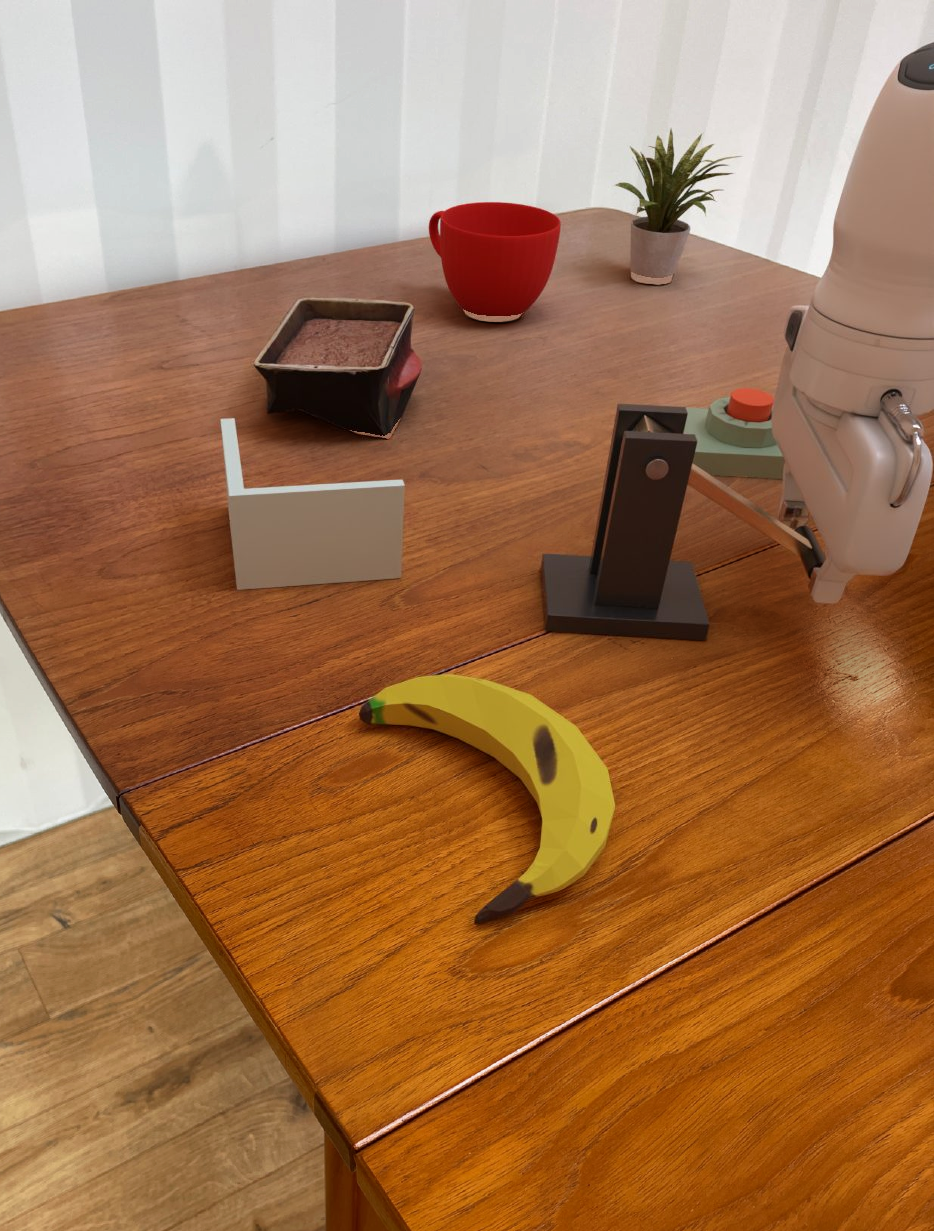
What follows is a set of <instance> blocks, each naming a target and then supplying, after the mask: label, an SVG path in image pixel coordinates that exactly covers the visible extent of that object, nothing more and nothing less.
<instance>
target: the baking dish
mask: <svg viewBox="0 0 934 1231" xmlns="http://www.w3.org/2000/svg"><path fill="white" fill-rule="evenodd" d="M414 316H415V306H414V305H413V304H411V303H410V302H407V301H391V300H382V299H369V298H368V299H366V298H351V297H350V298H348V297H313V296H311V297H310V296H309V297H303V298H298V299H296V300H295V301H294V302H293V305H292V306H291V307H290V308H289V309H288V311H287V312H286V314H285V315H284V317H282V320H281V321H280V322H279V325H278V326H277V328H276V329H275V330H274V331H275V332H274V333H273V335H272V336H271V337H270V338H269V339H268V342H267V343H266V344H265V345H264V347H263V349H262V350H261V351H260V353H258V355H257V356H256V358H255V360H254V362H253V366H254V368H255V369H256V371H257V372H258V373H259V374H260V375H261V376H262V377H263V378H264V380H265V389H266V414H268V415H273V414H278V413H284V412H291V411H295V410H299V411H301V412H304V413H306V414H308V415H311V416H313V417H316V418H317V419H320V420H323V421H325V422H328V423H330V424H332V423H333V424H332V425H334V424H335V426H337V427H339V426H340V428H341V427H343V428H342V429H344V428H345V429H344V430H346V429H347V430H346V431H348V430H352V431H357V432H365V433H370V434H375V435H380V436H382V435H383V436H385V435H387V434H388V433H391V431H392V429H393V427H394V426H395V424H396V423H397V422H398V420H399V419H400V418H401V417H402V418H403V416H404V414H405V411H406V409H407V407H408V404H409V401H410V399H411V396H412V394H413V392H414V390H415V387H416V386H417V382H418V380H419V378H420V375H421V372H422V369H423V368H422V366H423V364H422V361H421V358H420V357H419V355H417V353H416V352H415V351H414V349H413V348H412V334H413V325H414ZM402 418H401V419H402Z"/></svg>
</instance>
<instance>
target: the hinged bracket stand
mask: <svg viewBox="0 0 934 1231" xmlns="http://www.w3.org/2000/svg"><path fill="white" fill-rule="evenodd" d="M644 415H645V416H647V417H648V418H650V419H651V420H653V421H654V422H656V423H657V424H659V425H660V426H662V427H663V428H665V429H666V430H668V431H669V432H671V433H657V432H638V431H632V430H633V429H634V427H635V426H636V425H637V424H638V423H639V421H640V420H641V419H642V418H643V417H644ZM687 415H688V413H687V410H686V406H671V405H653V404H652V405H651V404H634V403H633V404H632V403H617V406H616V412H615V416H614V423H613V428H612V433H611V439H610V446H609V451H608V457H607V461H606V462H607V463H606V468H605V472H604V473H605V474H604V479H603V485H602V491H601V497H600V502H599V508H598V514H597V519H596V525H595V531H594V535H593V541H592V546H591V553H590V555H578V554H577V555H576V554H559V553H542V555H541V561H540V570H539V571H540V580H541V592H542V605H543V616H544V618H543V619H544V629H545V632H550V633H551V632H554V633H567V634H569V633H570V634H584V635H585V634H588V635H602V636H603V635H606V636H620V637H637V638H638V637H640V638H653V639H672V640H688V641H706V640H707V637H708V633H709V630H710V626H711V623H710V619H709V616H708V613H707V609H706V606H705V602H704V599H703V595H702V591H701V589H700V585H699V581H698V578H697V575H696V570H695V567H694V563H693V562H692V561H684V560H683V561H682V560H671V557H672V553H673V549H674V548H673V547H674V544H675V541H676V540H675V539H676V535H677V532H678V527H679V523H680V518H681V514H682V511H683V506H684V501H685V497H686V493H687V488H688V486H689V485H688V480H689V476H690V472H691V468H692V463H693V459H694V455H695V450H696V446H697V439H696V436H695V434H683V433H684V429H685V424H686V420H687ZM621 443H622V446H621Z"/></svg>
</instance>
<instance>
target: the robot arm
mask: <svg viewBox="0 0 934 1231" xmlns="http://www.w3.org/2000/svg"><path fill="white" fill-rule="evenodd" d="M895 65H896V66H895V67H894V68H893V70H892V71H891V73H890V74H889V76H888V77H887V78H886V81H885V82H884V84H883V86H882V88H881V89H880V91H879V93H878V95H877V97H876V99H875V101H874V103H873V106H872V108H871V110H870V112H869V115H868V116H867V119H866V122H865V123H864V127H863V129H862V131H861V134H860V136H859V140H858V142H857V145H856V148H855V150H854V153H853V156H852V159H851V161H850V165H849V167H848V171H847V174H846V176H845V177H846V178H845V181H844V184H843V187H842V191H841V194H840V196H839V201H838V205H837V207H836V211H835V215H834V219H833V226H832V227H833V228H832V230H833V231H832V247H831V254H830V257H829V261H828V264H827V265H826V269H825V271H824V272H823V274H822V276H821V277H820V279H819V281H818V282H817V284H816V286H815V287H814V290H813V292H812V295H811V298H810V302H809V305H808V304H806V305H801V304H799V305H792V306H791V307H790V309H789V311H788V314H787V317H786V320H785V324H784V328H783V338H784V341H785V342H786V344H787V346H786V348H785V352H784V354H783V358H782V362H781V366H780V371H779V375H778V379H777V383H776V387H775V388H776V389H775V393H774V397H773V398H774V402H773V408H772V435H773V437H774V438H775V440H776V443H777V445H778V447H779V449H780V451H781V453H782V455H783V457H784V459H785V464H784V467H783V479H782V484H781V485H782V486H781V499H780V502H779V505H778V509H777V512H776V516H777V520H779V521H780V522H782V523H783V524H785V525H786V526H788V527H789V528H791V529H792V530H795V529H796V528H797V527H799V526H807V524H808V520H809V517H810V516H811V518H812V521H813V522H814V525H815V527H816V529H817V531H818V533H819V536H820V538H821V540H822V542H823V544H824V546H825V549H824V551H823V554H824V556H825V558H826V560H825V562H824V563H823V565H822V566H821V568H814V569H813V572H812V574H811V579H809V581H808V584H807V588H808V592H809V594H810V596H811V599H812V601H813V602H815V603H816V604H828V605H829V604H830V605H833V604H836V603H839V602H840V600H841V599H842V597H843V594H844V591H845V589H846V586H847V583H849V582H850V581H851V580H852V579H853V578H854V577H855V576H856V575H860V576H861V575H862V576H880V577H881V576H882V577H885V576H891V575H893V574H895V573H896V572H897V571H899V570H900V569H901V568H902V567H903V566H904V564H905V563H906V561H907V558H908V556H909V554H910V551H911V547H912V546H913V542H914V540H915V536H916V533H917V530H918V527H919V524H920V521H921V518H922V515H923V512H924V509H925V508H924V507H925V506H926V502H927V498H928V496H929V491H930V487H931V482H932V478H933V469H934V468H933V467H934V464H933V456H932V453H931V451H930V448H929V447H928V445H927V444H926V442H925V441H924V439H923V438H924V435H925V428H924V426H923V423H922V422H921V420H920V419H919V418H918V416H921V415H925V414H928V413H930V412H932V411H933V410H934V41H933V42H930V43H927V44H925V45H922V46H921V47H918V48H917V49H916V50H914V51H911V52H910V53H908V54H906V55H905V56H904V57H903V58H902V59H900V60H899V62H898V63H897V64H895Z"/></svg>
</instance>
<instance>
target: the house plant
mask: <svg viewBox="0 0 934 1231" xmlns="http://www.w3.org/2000/svg"><path fill="white" fill-rule="evenodd" d="M703 134H704V132H702V133H701V134H700V135H698V137H697V138H696V139H695V140H694V141H693V142H692V144H691V145H690V146H689V148H688V149H687V150H686V151H685V153H684V154H683V155H682V156H681V157H680V159H679V161H678V162H677V164H676V166H675V168H674V163H675V148H674V133H673V130H672V128H670V129H669V135H668V142H667V148H666V149H667V150H666V149H665V146H664V142H663V139H662V138H661V137H660V136H659V135H657V136H656V139H655V145H654V146H651V145H648V148H653V149H654V158H652V157H645V155H644V154H643V153H642V151H639V152H638V151H637V150H636V149H634V148H633V147H632V146H630V145H628V147H629V148H630V150H631V152H632V153H633V155H634V156H635V158H636V160H635V159H634V157H633V156H631V158H632V159H633V161H634V162H635V164H636V166H637V168H638V170H639V172H640V173H641V176H642V178H643V181H644V183H645V186H646V187H645V192H646V195H647V198H648V199H646V198H645V196H644V195H643V194H642V193H641V191H640V190H639V189H638V188H637V187H635V186H634V185H633V184H631V183H629V182H624V181H623V182H618V183H615V184H614V185H613V187H614V186H616V187H619V188H622V189H625V191H628V192H630V193H632V194H633V195H635V196H636V197H637V198H638V199H639V206H638V207H637V209H636V214H635V216H637V215H638V214H639V213H641V212H644V211H645V213H646V216H640V217H636V218H634V219H632V220H631V221H630V264H629V265H630V266H629V267H630V268H629V269H631V272H633V273H635V274H637V275H641V276H645V277H651V278H664V277H668V276H671V275H673V274H674V273H675V274H676V270H677V268H678V265H679V264H680V260H681V257H682V254H683V251H684V249H685V245H686V243H687V240H688V237H689V235H690V231H691V225H690V224H689V223H688V222H685V221H684V220H680V219H679V218H680V217H681V216H682V215H684V214H685V213H686V212H687V211H688V210H689V209H690V208H691V207H693V206H696V207H698V209H701V210H702V212H703V213H704V215H705V216H704V217H707V210H706V208H707V207H706V206H705V205H704V204H703V203H702V202H705V201H706V202H707V201H713V202H716V203H718V201H716V200H715V197H714V196H713V194H712V193H714V192H718V191H719V192H720V191H721V192H722V191H723V189H720V188H716V189H711V190H708V191H705V190H703V189H699V188H697V189H692V188H693V187H694V186H695V185H696V184H697V183H699V182H701V181H705V180H708V179H711V178H714V177H720V176H721V177H722V176H729V175H734V174H735V173H734V172H711V171H712V170H714V169H716V168H719V167H727V166H729V167H730V166H731V165H730V164H724V163H721V164H717V163H719V162H722V161H725V160H729V159H736V158H741V157H743V155H737V156H736V155H735V156H727V157H722V158H718V159H716V160H711V159H704V160H703V158H704V157H705V154H706V153H707V152H708V151H709V150H710V149H711V148H712V147H713V146H714V145H715V143H712V144H709V145H706V146H704V147H702V148H701V149H700V150H698V151H697V152H696V153H695V150H696V148H697V147H698V145H699V143H700V142H701V141H702V140H701V139H702V136H703ZM694 153H695V154H694ZM705 162H707V163H708V164H706V165H704V166H703V167H701V168H700V169H699V170H697V171H696V172H695V173H693V172H694V171H695V170H696V169H697V168H698V166H699V165H700V164H701V163H705ZM709 172H710V173H709ZM700 173H701V174H700ZM691 175H692V176H691ZM690 176H691V177H690ZM686 189H687V190H686ZM691 189H692V190H691ZM685 190H686V191H685ZM684 191H685V192H684ZM683 192H684V193H683ZM699 193H701V195H699V196H696V197H693V198H691V199H688V198H690V197H691V196H693V195H696V194H699ZM702 193H703V194H702ZM682 194H683V195H682ZM681 195H682V196H681ZM708 195H709V196H708ZM687 199H688V200H687ZM686 200H687V201H686ZM685 201H686V202H685ZM683 202H684V203H683ZM675 274H674V275H675Z"/></svg>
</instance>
